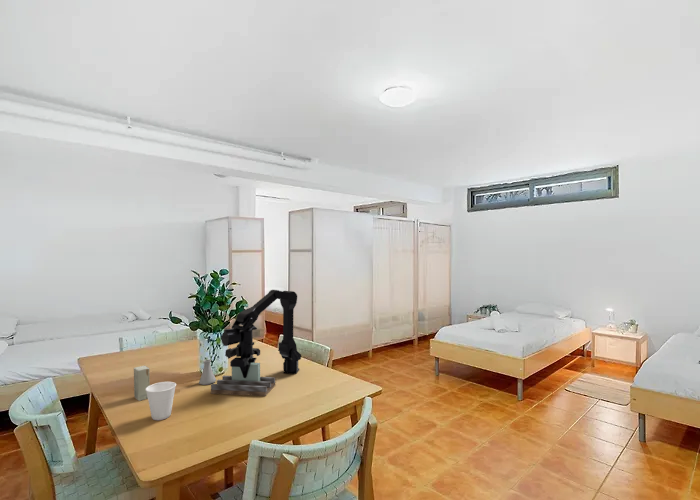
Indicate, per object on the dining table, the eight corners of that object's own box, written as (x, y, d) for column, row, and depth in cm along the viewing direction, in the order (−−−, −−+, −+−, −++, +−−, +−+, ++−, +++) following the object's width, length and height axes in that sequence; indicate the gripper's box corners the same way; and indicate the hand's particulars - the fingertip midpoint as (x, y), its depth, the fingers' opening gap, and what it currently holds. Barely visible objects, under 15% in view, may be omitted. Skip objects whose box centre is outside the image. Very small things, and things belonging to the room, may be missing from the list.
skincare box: (150, 398, 148) (150, 368, 148) (138, 401, 145) (138, 370, 145) (145, 393, 153) (145, 364, 153) (133, 397, 150) (133, 367, 150)
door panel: (260, 380, 160) (260, 362, 160) (258, 383, 158) (257, 364, 158) (234, 380, 162) (234, 362, 162) (231, 382, 159) (231, 363, 159)
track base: (275, 385, 162) (275, 377, 162) (265, 395, 150) (265, 387, 150) (224, 383, 165) (224, 375, 165) (210, 393, 153) (210, 385, 153)
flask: (210, 385, 161) (209, 363, 161) (195, 384, 163) (195, 362, 163) (219, 380, 168) (218, 358, 168) (204, 379, 170) (204, 357, 170)
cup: (157, 410, 137) (156, 381, 137) (182, 411, 136) (181, 381, 136) (139, 422, 127) (139, 391, 127) (166, 423, 126) (165, 392, 126)
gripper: (237, 335, 170) (238, 369, 170) (218, 346, 151) (218, 383, 151) (260, 336, 168) (260, 369, 169) (243, 347, 150) (244, 384, 150)
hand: (246, 376), depth 160 cm, fingers closed on door panel, 2 cm apart
